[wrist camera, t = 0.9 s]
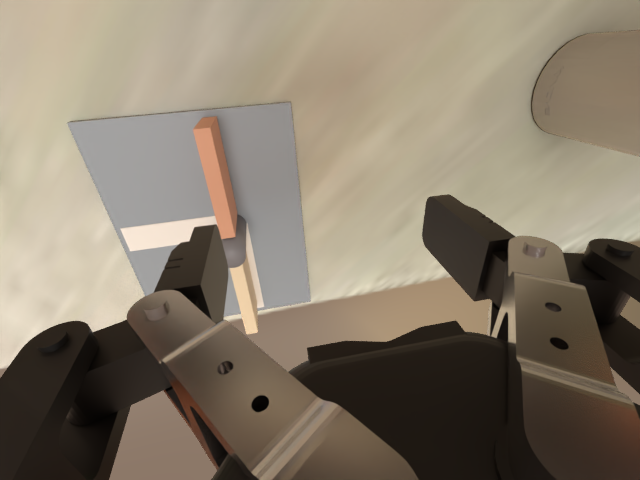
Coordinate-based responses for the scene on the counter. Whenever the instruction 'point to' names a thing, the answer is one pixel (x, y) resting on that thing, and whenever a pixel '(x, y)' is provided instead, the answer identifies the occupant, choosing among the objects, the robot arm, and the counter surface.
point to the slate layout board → (205, 197)
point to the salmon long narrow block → (216, 175)
